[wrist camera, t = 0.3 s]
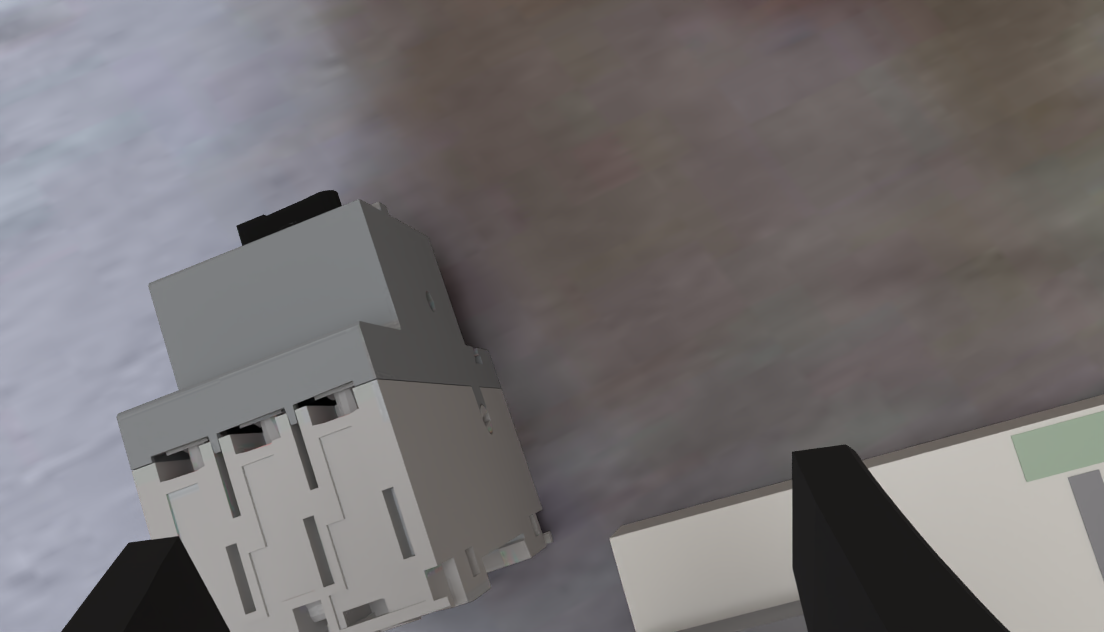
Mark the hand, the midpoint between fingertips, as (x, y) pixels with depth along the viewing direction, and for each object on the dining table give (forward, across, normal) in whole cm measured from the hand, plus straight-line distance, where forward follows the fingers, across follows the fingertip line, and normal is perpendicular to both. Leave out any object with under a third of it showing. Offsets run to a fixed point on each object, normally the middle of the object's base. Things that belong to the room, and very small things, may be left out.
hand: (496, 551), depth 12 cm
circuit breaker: (+24, +6, +18) cm, 31 cm away
